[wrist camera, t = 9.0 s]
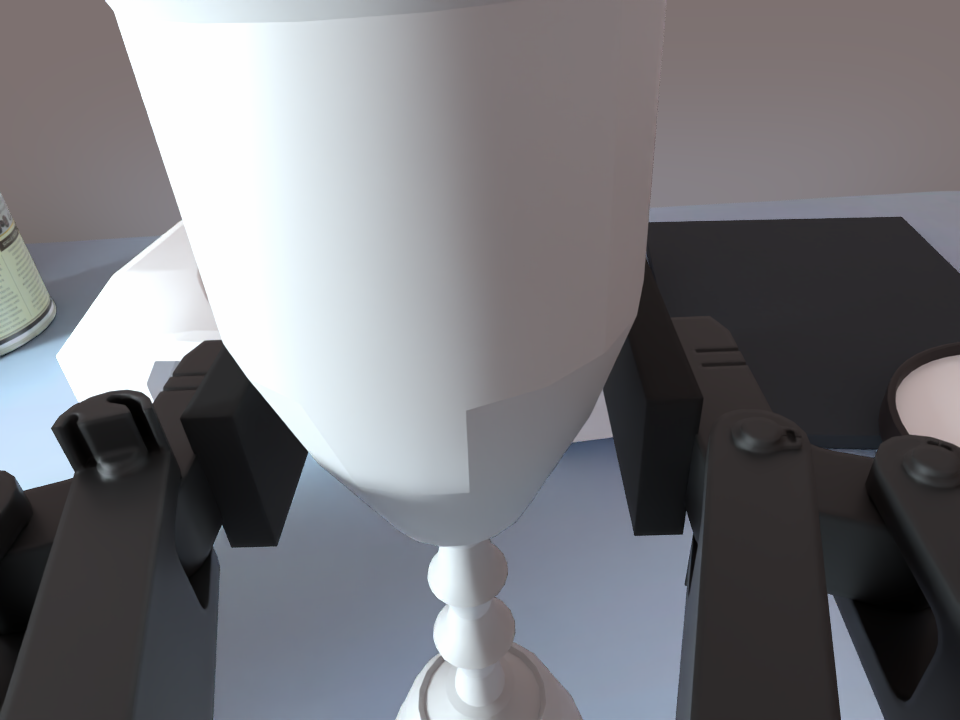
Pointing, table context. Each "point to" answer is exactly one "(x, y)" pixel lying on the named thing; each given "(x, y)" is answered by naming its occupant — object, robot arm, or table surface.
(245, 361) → the chalice
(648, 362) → the robot arm
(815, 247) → the mat
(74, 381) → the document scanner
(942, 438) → the magnifying glass
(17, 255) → the coffee can
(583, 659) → the table surface
